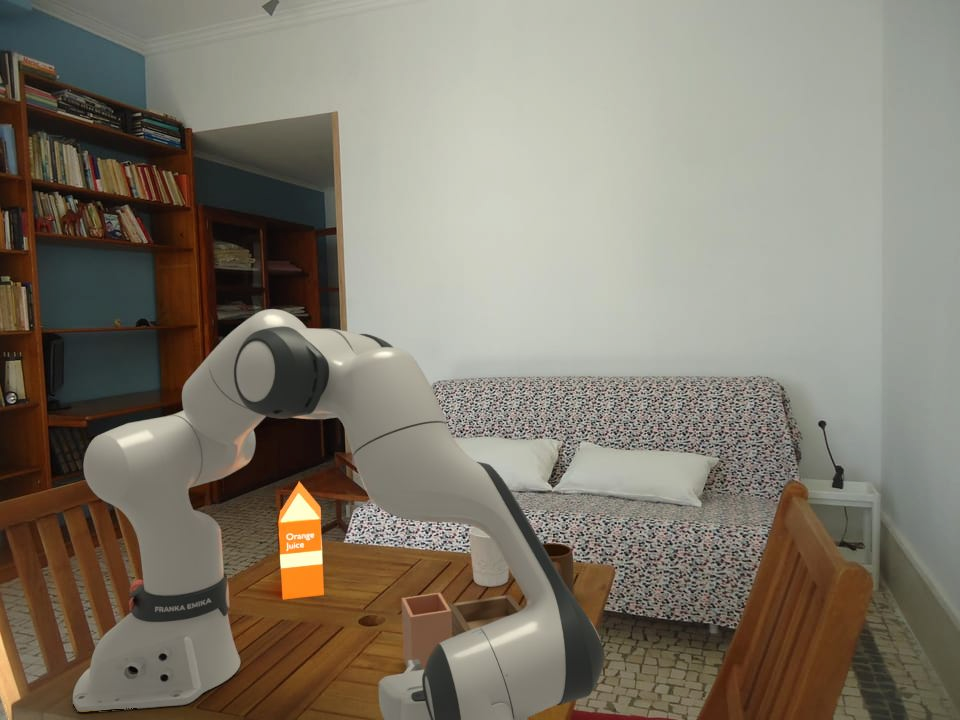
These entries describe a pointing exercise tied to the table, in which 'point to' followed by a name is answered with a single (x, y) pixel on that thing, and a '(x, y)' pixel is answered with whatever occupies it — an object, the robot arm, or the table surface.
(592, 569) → the table surface
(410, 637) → the pink square pot
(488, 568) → the white cup
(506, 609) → the large crate
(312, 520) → the orange juice
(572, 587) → the mug
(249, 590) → the table surface
